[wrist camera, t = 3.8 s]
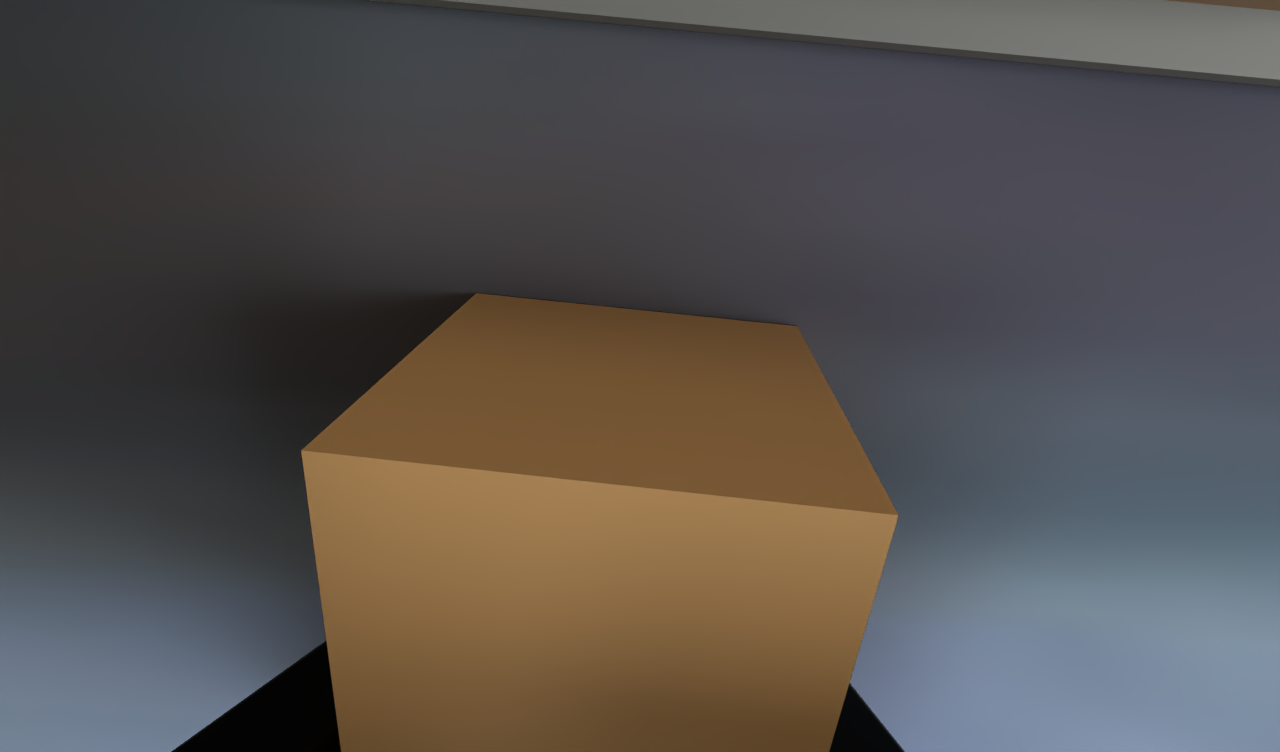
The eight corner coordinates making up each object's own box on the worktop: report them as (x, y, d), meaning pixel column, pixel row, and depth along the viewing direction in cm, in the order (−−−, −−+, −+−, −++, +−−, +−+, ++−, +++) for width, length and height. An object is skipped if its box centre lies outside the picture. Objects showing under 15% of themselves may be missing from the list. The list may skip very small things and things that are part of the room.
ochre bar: (476, 293, 8) (300, 450, 4) (797, 325, 8) (898, 514, 4) (481, 740, 11) (381, 1055, 7) (711, 768, 11) (727, 1099, 7)
